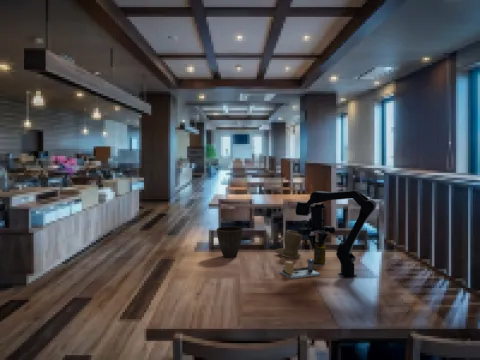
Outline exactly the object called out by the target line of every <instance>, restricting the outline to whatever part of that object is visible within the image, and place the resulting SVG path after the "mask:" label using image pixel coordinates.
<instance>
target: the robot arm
mask: <svg viewBox="0 0 480 360" xmlns="http://www.w3.org/2000/svg"><path fill="white" fill-rule="evenodd" d="M348 199H349V200H350V199H352V200H353V201H355V203H356V204H357V205H358V206H359V207H360V209H359V213H358V217H357V219H356V221H355V223H354V224H353V226H352V228H351V230H350V231H349V234H348V236H347V238H346V239H345V241H341V242H340V243H339V244H338V247H337V249H335V252H336V258H337V259H338V260H339V262H340V272H339V273H338V275H339V276H341V277H343V278H354V277H358V276H357V274H355V261H356V256H354V254H353V253H352V252H353V247H354V244H355V242H356V240H357V238H358V236H359V235H360V233H361V231H362V229H363V227H364V225H365V224H366V222H367V219H368V218H369V217H370V216H371V215H372V214H373V213H374V212H375V210H376V208H377V203H376V201H375V200H374V199H371V198H368V197H367V196H365V195H364V194H363V193H361V192H360V191H359V190H357V189H353V190H343V191H333V192H332V191H322V190H321V191H320V190H317V191H314V192H311V194H310V196H309V198H308V201H307V202H302V201H297V203H296V207H295V210H294V211H295V215H296V216H301V217H302V216H303V217H309V215H310V217H309V219H308V221H307V220H301V227H299V228H298V230H297V232H298V234H300V235H302V236H306V237H308V239H309V241H310V245H311V248H312V249H314V247H315V241H316V238H317V236H318V240H317V241H318V246H319V248H320V247H321V245H322V243H323V241H324V242H325V240H326V238H327V236H329V234H336V228H335V226H331V225H324V226H323V222H325V219H324V218H323V217H324V214H323V212H324V211H323V210H324V209H326V208H327V207H328V205H326V204H325V202H327V201H335V200H337V201H338V200H348ZM320 203H321V204H320ZM316 233H317V235H315V234H316Z"/></svg>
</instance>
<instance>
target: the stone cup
mask: <svg viewBox="0 0 480 360" xmlns="http://www.w3.org/2000/svg"><path fill="white" fill-rule="evenodd" d="M283 240H284V246H285V247H284V248H283V247H281V248H276V249H275V250H274V253H277V254H279V255H281V256H283V257H286V258H290V259H297V258H300V257H301V254H300V253H299V247H300V245H301V244H302V243H301V242H302V240H303V235H300V234H298V230H297V231H296V230H291V229H287V230H286V231H285V233H284V239H283Z"/></svg>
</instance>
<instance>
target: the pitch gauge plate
mask: <svg viewBox="0 0 480 360" xmlns="http://www.w3.org/2000/svg"><path fill="white" fill-rule="evenodd" d="M306 261H307V266H302V267H294V273H292V274H288V273H286V272H285V269H284V268H282V269H281V270H280V271H279V273H280V274H281V275H283V276H284V277H287V278H288V279H290V280H296V279H301V278H310V277H317V276H318V277H319V276H321V273H320V272H318V271H316V270H314V265H313V262H314V258H313V259H312V258H309V259H307V260H306Z"/></svg>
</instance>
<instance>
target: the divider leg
mask: <svg viewBox="0 0 480 360" xmlns="http://www.w3.org/2000/svg"><path fill="white" fill-rule="evenodd" d="M294 263H295V262H293V261H291V260H289V261H287V260H286V261H284V266H282V269H285V272H286V273H288V274H292V273H294V268H295V267H294V265H295V264H294Z"/></svg>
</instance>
